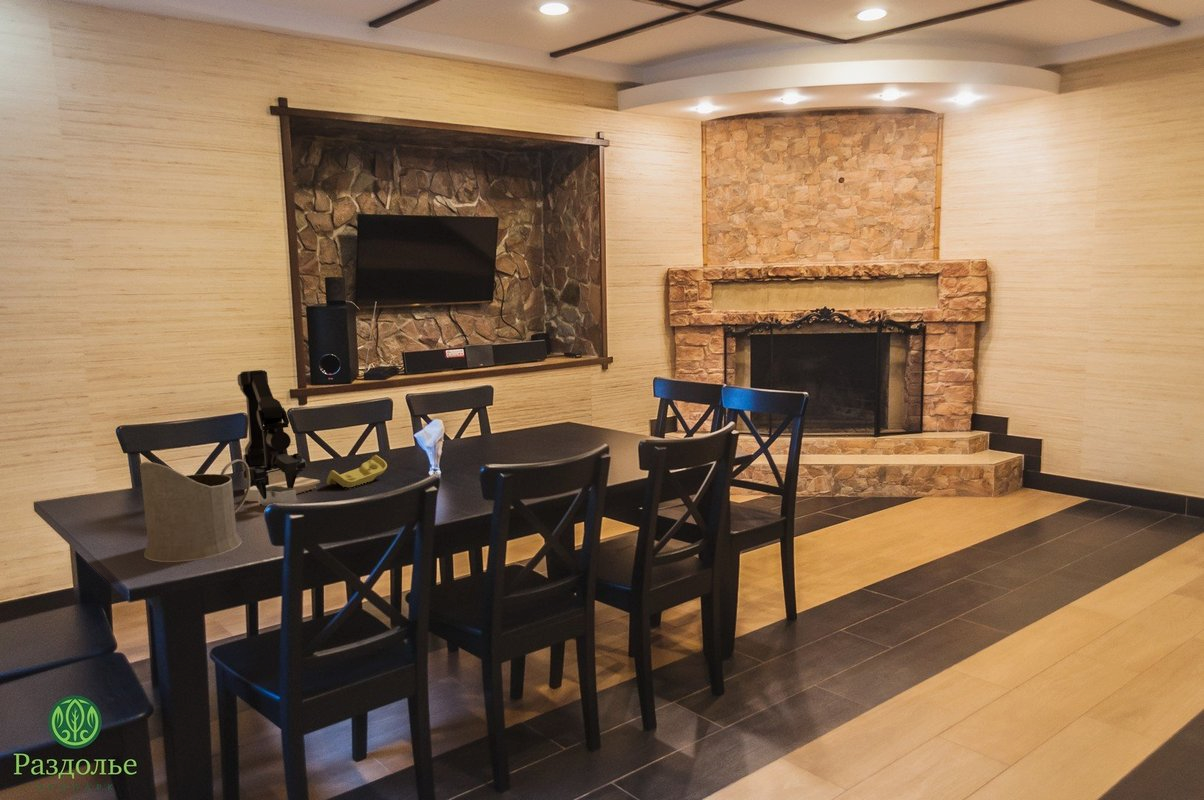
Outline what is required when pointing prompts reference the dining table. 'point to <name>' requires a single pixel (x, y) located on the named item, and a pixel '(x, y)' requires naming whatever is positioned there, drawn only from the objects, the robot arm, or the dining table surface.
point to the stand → (299, 484)
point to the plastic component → (359, 473)
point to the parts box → (253, 493)
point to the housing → (278, 495)
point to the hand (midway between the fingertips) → (277, 495)
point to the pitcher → (188, 513)
